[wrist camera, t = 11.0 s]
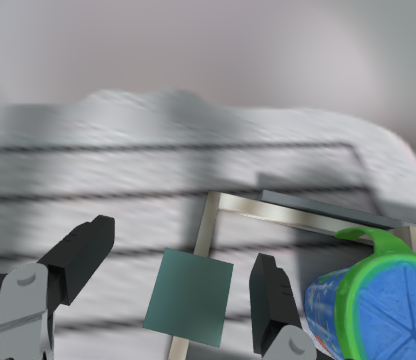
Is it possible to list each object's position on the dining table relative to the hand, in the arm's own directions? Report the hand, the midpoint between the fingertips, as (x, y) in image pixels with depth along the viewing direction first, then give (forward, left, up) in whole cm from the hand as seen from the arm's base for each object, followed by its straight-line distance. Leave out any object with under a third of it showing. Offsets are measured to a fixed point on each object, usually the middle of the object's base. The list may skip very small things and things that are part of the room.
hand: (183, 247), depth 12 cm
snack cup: (+17, -2, -14) cm, 22 cm away
